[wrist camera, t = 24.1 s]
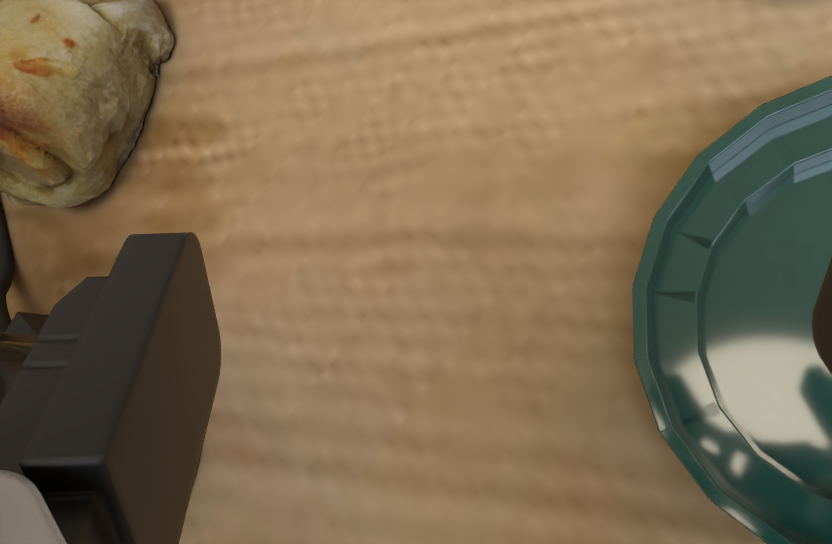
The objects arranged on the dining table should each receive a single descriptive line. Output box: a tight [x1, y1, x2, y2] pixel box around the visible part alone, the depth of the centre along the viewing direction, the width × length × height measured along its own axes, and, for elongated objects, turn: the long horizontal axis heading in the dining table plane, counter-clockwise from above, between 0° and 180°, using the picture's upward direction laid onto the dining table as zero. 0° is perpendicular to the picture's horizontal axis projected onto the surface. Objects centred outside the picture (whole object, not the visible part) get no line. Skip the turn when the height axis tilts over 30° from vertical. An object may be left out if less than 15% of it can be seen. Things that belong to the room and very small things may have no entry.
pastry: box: [0, 0, 174, 208], centre depth 41 cm, size 14×12×8 cm
